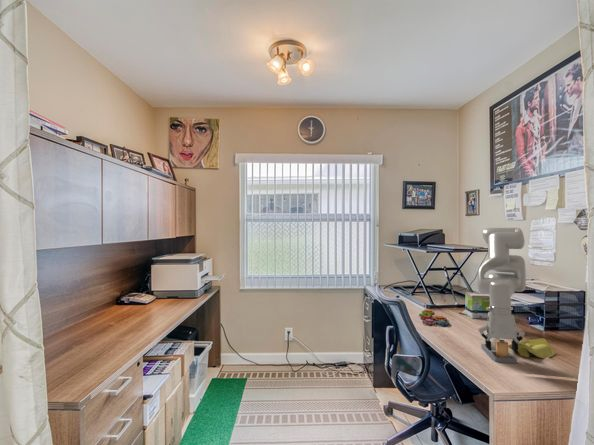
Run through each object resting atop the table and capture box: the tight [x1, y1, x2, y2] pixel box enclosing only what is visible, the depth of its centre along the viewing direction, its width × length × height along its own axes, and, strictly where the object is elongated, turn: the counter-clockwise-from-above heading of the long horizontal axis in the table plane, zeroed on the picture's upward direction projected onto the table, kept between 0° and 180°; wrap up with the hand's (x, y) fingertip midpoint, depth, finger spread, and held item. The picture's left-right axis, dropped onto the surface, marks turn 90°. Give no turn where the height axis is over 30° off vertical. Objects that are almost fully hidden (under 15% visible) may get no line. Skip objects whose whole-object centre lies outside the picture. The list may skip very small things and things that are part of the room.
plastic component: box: [508, 338, 555, 359], centre depth 131 cm, size 20×7×10 cm
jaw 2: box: [490, 337, 501, 350], centre depth 134 cm, size 4×4×8 cm
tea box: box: [464, 291, 490, 320], centre depth 188 cm, size 15×10×15 cm, turn 83°
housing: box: [480, 343, 518, 364], centre depth 130 cm, size 16×9×2 cm, turn 166°
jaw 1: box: [496, 338, 509, 358], centre depth 126 cm, size 4×4×8 cm
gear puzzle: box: [418, 308, 453, 328], centre depth 185 cm, size 31×16×4 cm, turn 165°
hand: (501, 350), depth 126 cm, fingers open, 9 cm apart
